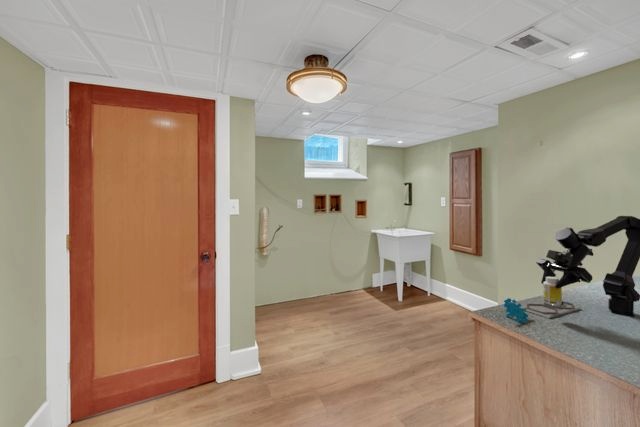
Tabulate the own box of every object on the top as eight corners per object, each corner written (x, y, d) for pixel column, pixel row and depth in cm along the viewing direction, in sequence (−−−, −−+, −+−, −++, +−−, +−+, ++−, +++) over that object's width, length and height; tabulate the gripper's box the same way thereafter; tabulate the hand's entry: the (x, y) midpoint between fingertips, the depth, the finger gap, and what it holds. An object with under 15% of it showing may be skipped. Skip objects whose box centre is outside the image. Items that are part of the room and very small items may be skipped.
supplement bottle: (565, 304, 110) (564, 278, 110) (555, 306, 108) (555, 280, 108) (549, 300, 115) (549, 275, 115) (540, 302, 113) (539, 276, 113)
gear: (516, 321, 105) (501, 297, 112) (504, 328, 109) (490, 304, 116) (537, 321, 109) (521, 297, 115) (525, 327, 113) (510, 304, 119)
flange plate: (550, 300, 130) (550, 295, 130) (581, 309, 120) (581, 303, 120) (519, 308, 122) (519, 303, 122) (550, 318, 111) (550, 312, 111)
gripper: (540, 239, 120) (516, 266, 120) (585, 246, 102) (558, 278, 101) (556, 257, 122) (533, 283, 121) (604, 266, 103) (578, 298, 102)
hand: (549, 285), depth 111 cm, fingers closed on supplement bottle, 5 cm apart
